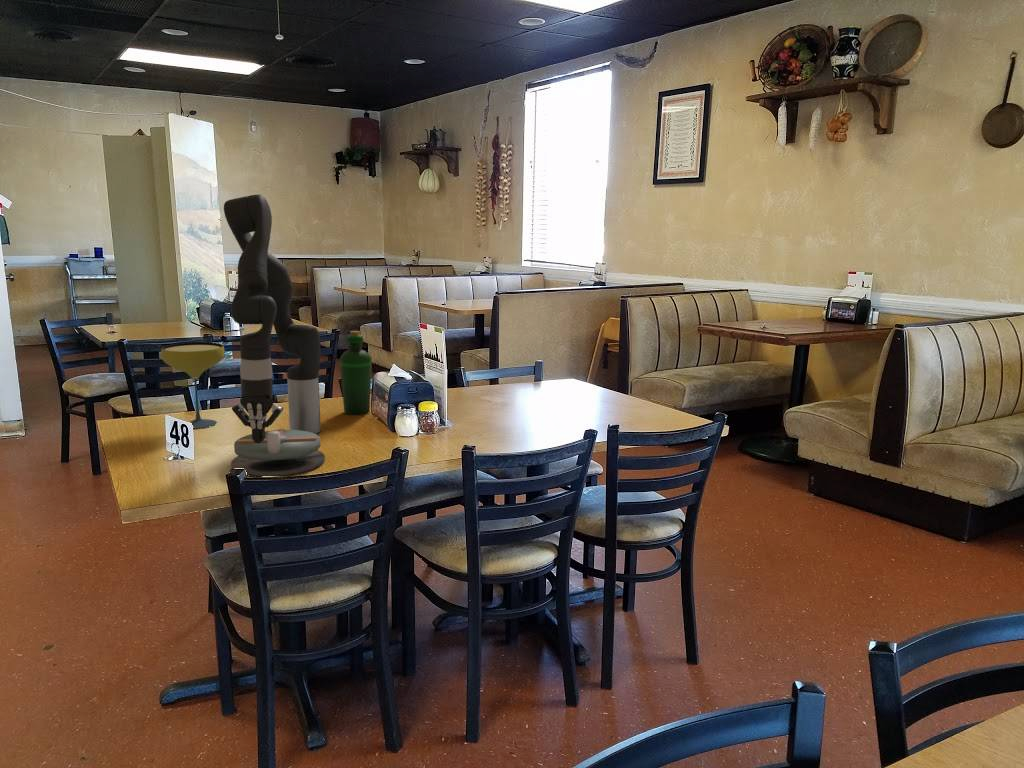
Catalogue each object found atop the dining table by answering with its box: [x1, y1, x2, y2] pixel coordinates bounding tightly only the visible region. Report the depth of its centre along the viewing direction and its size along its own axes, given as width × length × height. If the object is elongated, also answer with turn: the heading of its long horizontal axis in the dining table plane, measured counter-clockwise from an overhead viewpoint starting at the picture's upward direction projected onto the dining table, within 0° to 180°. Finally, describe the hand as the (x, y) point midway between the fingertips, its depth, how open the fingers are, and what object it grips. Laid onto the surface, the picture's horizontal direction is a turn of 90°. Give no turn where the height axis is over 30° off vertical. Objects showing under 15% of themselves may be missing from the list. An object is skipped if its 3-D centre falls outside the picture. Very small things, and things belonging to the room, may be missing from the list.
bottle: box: [339, 330, 372, 416], centre depth 249 cm, size 11×11×28 cm
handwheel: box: [233, 428, 321, 460], centre depth 196 cm, size 22×22×7 cm
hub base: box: [230, 449, 326, 478], centre depth 197 cm, size 24×24×4 cm
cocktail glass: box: [160, 341, 225, 430], centre depth 230 cm, size 18×18×25 cm
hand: (259, 442), depth 187 cm, fingers closed
